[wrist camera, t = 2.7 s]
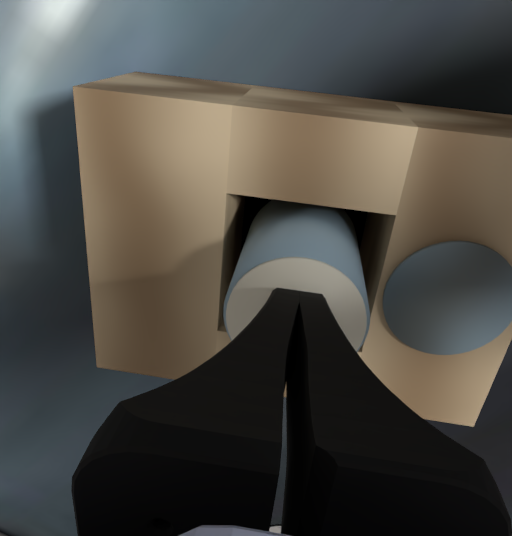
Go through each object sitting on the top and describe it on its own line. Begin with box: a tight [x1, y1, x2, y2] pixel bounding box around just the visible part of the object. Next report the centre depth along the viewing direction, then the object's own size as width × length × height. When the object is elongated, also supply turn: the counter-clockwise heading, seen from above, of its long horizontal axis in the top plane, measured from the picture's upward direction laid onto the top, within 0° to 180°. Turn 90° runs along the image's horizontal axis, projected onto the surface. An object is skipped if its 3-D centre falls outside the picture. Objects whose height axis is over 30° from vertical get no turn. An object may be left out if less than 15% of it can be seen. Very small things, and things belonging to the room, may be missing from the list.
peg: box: [223, 199, 370, 352], centre depth 15 cm, size 4×4×5 cm
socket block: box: [73, 72, 512, 427], centre depth 17 cm, size 14×10×5 cm
